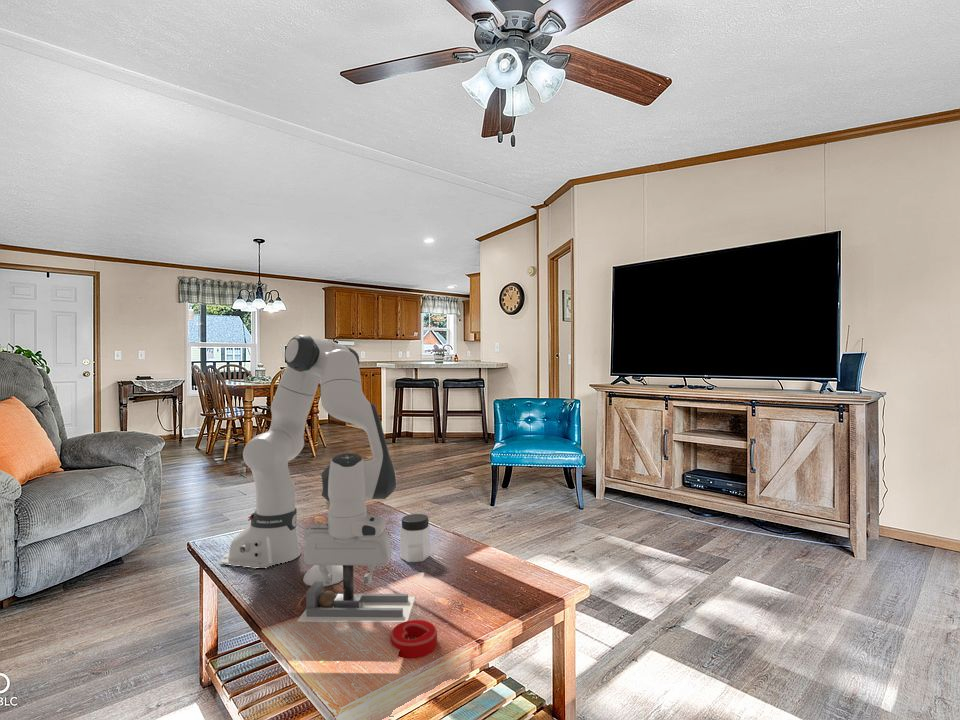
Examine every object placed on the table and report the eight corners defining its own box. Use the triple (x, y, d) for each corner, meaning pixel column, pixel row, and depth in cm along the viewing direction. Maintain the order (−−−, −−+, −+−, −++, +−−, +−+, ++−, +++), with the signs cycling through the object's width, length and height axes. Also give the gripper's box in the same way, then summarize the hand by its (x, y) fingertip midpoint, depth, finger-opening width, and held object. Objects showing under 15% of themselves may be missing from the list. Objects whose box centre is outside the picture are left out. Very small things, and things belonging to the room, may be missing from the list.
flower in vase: (306, 596, 125) (305, 498, 125) (300, 578, 135) (299, 488, 135) (357, 585, 131) (357, 491, 131) (348, 569, 141) (347, 482, 141)
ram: (333, 610, 114) (333, 566, 114) (338, 603, 117) (337, 560, 117) (359, 610, 114) (358, 566, 114) (362, 604, 117) (362, 560, 117)
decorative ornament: (444, 651, 101) (444, 636, 101) (399, 665, 96) (399, 649, 96) (426, 629, 109) (426, 614, 109) (384, 640, 105) (384, 625, 105)
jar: (434, 558, 148) (434, 518, 148) (411, 565, 143) (411, 524, 143) (418, 549, 155) (418, 511, 155) (396, 555, 150) (396, 516, 150)
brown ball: (317, 613, 114) (314, 596, 114) (323, 605, 118) (320, 588, 118) (334, 611, 113) (331, 594, 113) (339, 602, 117) (337, 586, 117)
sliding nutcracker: (296, 628, 110) (296, 599, 110) (315, 601, 122) (315, 575, 122) (407, 628, 109) (407, 599, 109) (415, 602, 121) (415, 576, 121)
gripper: (298, 528, 113) (299, 588, 112) (386, 528, 112) (387, 588, 112) (309, 519, 119) (309, 576, 119) (392, 519, 118) (392, 576, 118)
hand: (347, 582), depth 115 cm, fingers open, 8 cm apart
